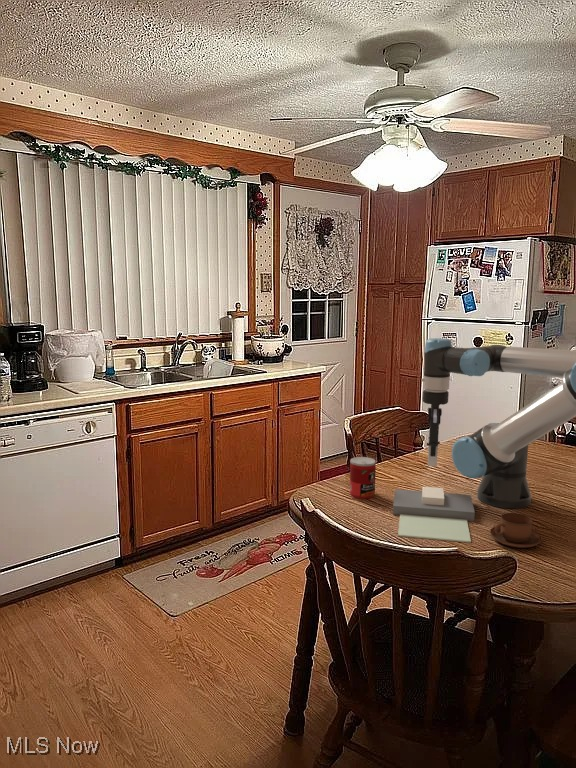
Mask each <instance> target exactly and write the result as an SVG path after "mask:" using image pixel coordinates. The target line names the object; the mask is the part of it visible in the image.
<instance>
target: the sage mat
mask: <svg viewBox="0 0 576 768" xmlns="http://www.w3.org/2000/svg"><path fill="white" fill-rule="evenodd" d="M397 537H403V538H404V537H405V538H406V537H407V538H416V539H426V540H438V541H449V542H458V543H459V542H460V543H472V540H471V534H470V530H469V525H468V521H467V520H464V519H452V518H440V517H428V516H416V515H404V514H400V515H399V521H398V531H397Z"/></svg>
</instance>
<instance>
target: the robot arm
mask: <svg viewBox="0 0 576 768" xmlns="http://www.w3.org/2000/svg"><path fill="white" fill-rule="evenodd" d="M423 356H424V358H423V360H424V363H423V364H424V366H423V367H424V368H423V369H424V370H423V377H422V378H421V382H423V390H422V402H423V403H424V404H427V405H430V407H428V408H427V415H428V424H429V431H428V432H429V433H428V442H426V446H428V452H427V467H438V453H439V452H438V451H439V450H438V449H439V445H440V441H439V432H440V431H439V428H440V425H441V420H442V419H441V417H442V413H443V410H442V408H441V407H440V405H447V404H449V391H448V390H449V389H450V380H451V379H450V378H451V377H450V373H453V374H457V375H458V374H459V375H464V376H469V377H482V376H484V375H485V374H486V373H487V372H500V373H509V374H510V373H512V374H522V375H530V376H531V375H532V376H542V377H548V378H551V377H552V378H560V379H562V382H560V383H559V384H557V385H556V386H554V387H552V388H551V389H549V390H548V391H546V392H545V393H544V394H542V395H540V396H538V397H537V398H535V399H534V400H532V401H531V402H529V403H528V404H526V405H525V406H523V407H521V409H519V410H518V411H516V412H514V413H513V414H511V415H510V416H508V417H506V418H505V419H504V420H502V421H500V422H490V423H488V424H486V425H484V426H482V428H480V429H478V430H477V431H475V432H473V434H470V435H467V436H462V437H460V438H459V439H457V440H456V441H455V442H454V443H453V445H452V447H451V459H452V464H453V465H454V467H455V468H456V470H457V471H458V472H459V473H460V475H462V476H464V477H466V478H468V479H481V480H480V483H479V485H478V488H477V493H476V494H477V495H476V496H477V497H476V498H477V499H478V500H479V501H480V502H482V503H483V504H486V505H489V506H492V507H496V508H502V509H503V508H504V509H521V508H526V507H529V506H530V505H531V503H532V501H531V500H532V494H531V490H530V486H529V483H528V480H527V468H528V456H529V455H528V452H529V445H530V444H531V443H533V442H535V441H536V440H538V439H540V438H541V437H543V436H545V435H547V434H548V433H550V432H552V431H553V430H555V429H557V428H558V427H560V426H562V425H564V424H565V423H567V422H569V421H571V420H572V419H574V418H576V350H571V349H553V348H542V347H541V348H540V347H539V348H538V347H536V348H535V347H523V346H522V347H521V346H506V345H504V344H492V345H486V346H476V347H457V346H456V347H455V346H452V341H451V339H449V338H442V337H439V338H437V337H436V338H432V337H431V338H429V339H426V341H425V346H424V352H423Z"/></svg>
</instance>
